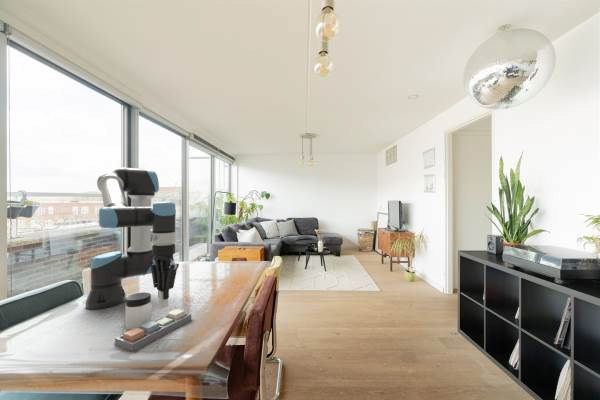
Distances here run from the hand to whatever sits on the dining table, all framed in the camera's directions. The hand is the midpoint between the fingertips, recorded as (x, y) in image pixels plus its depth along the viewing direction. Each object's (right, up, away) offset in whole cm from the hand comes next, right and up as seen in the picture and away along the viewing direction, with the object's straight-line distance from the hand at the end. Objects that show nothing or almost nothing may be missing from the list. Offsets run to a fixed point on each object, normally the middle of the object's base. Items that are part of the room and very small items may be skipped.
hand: (163, 307), depth 94 cm
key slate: (-2, -6, -5) cm, 8 cm away
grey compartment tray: (-1, -9, -3) cm, 9 cm away
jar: (-11, -9, +3) cm, 14 cm away
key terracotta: (-4, -6, -11) cm, 13 cm away
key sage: (0, -7, 0) cm, 7 cm away
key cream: (+3, -6, +5) cm, 8 cm away
